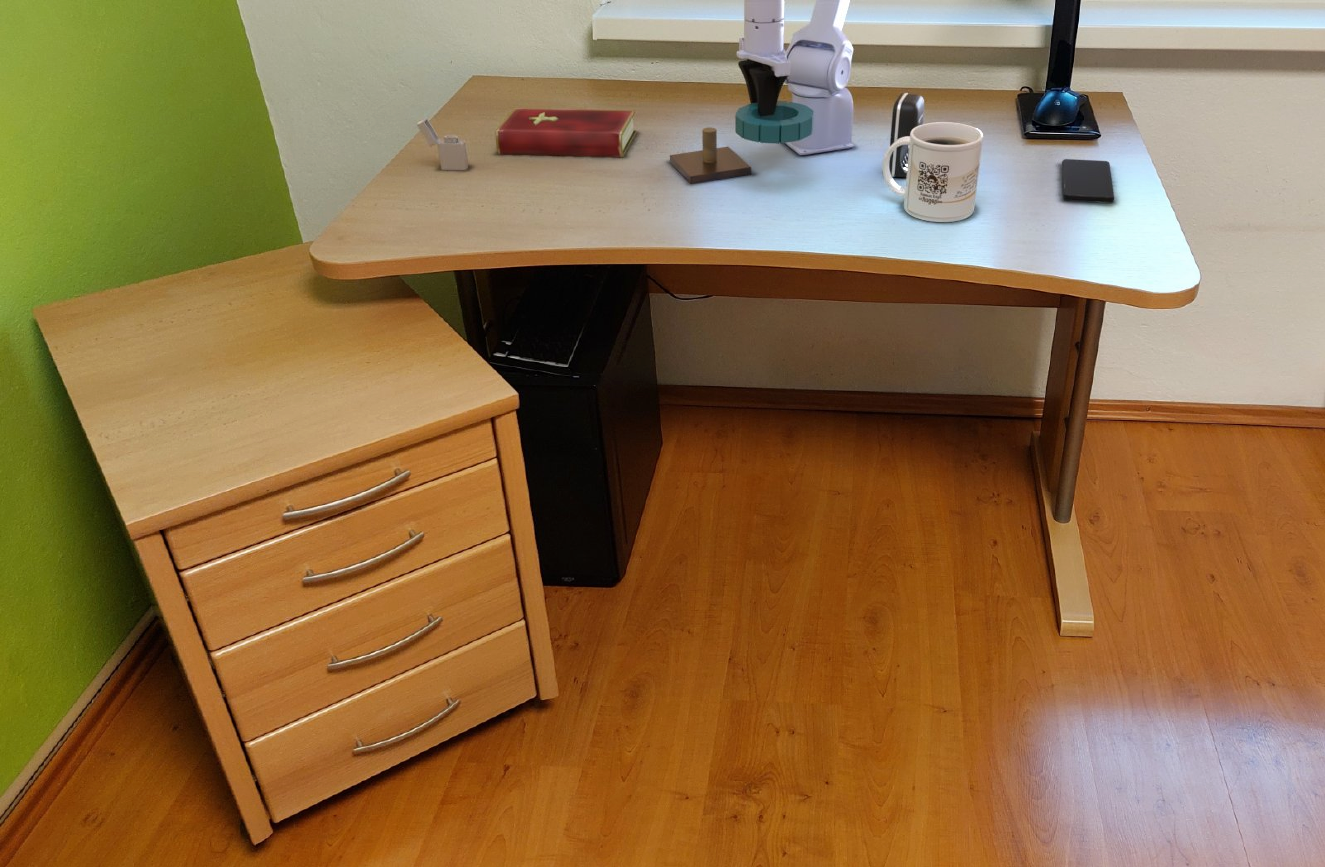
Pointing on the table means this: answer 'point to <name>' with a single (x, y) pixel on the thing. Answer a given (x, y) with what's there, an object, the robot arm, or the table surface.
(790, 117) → the ring
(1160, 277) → the table surface
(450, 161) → the lighter
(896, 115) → the battery charger
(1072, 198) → the smartphone
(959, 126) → the mug
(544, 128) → the hardcover book
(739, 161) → the stand
